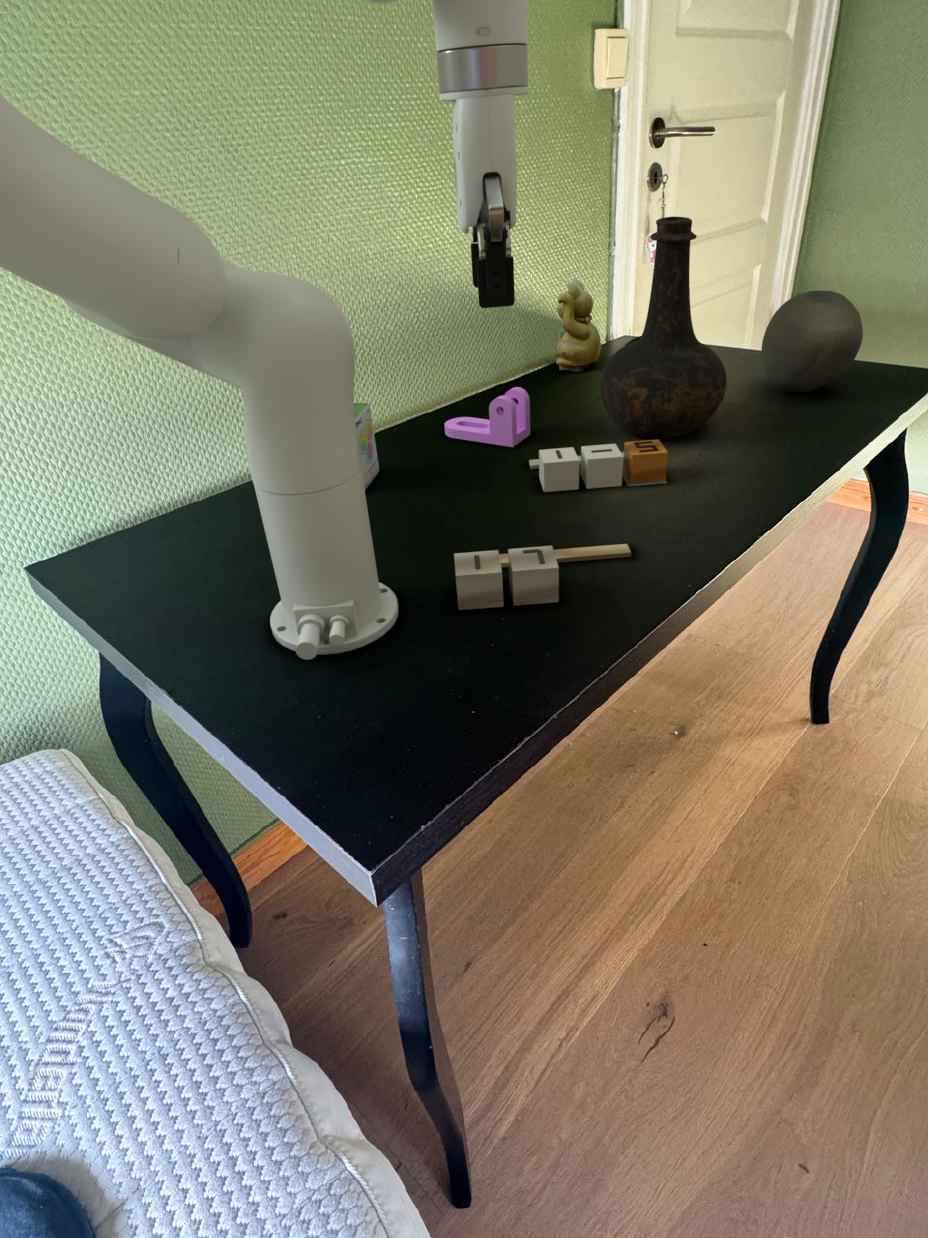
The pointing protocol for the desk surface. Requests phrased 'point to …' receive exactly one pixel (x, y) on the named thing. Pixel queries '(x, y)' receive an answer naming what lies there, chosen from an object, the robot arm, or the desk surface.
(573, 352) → the decorative figurine
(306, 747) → the desk surface
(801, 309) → the dark grey rounded piece
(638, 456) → the orange-brown block
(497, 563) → the front word
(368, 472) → the ink box
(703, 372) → the brown bottle
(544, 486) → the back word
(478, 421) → the bracket
